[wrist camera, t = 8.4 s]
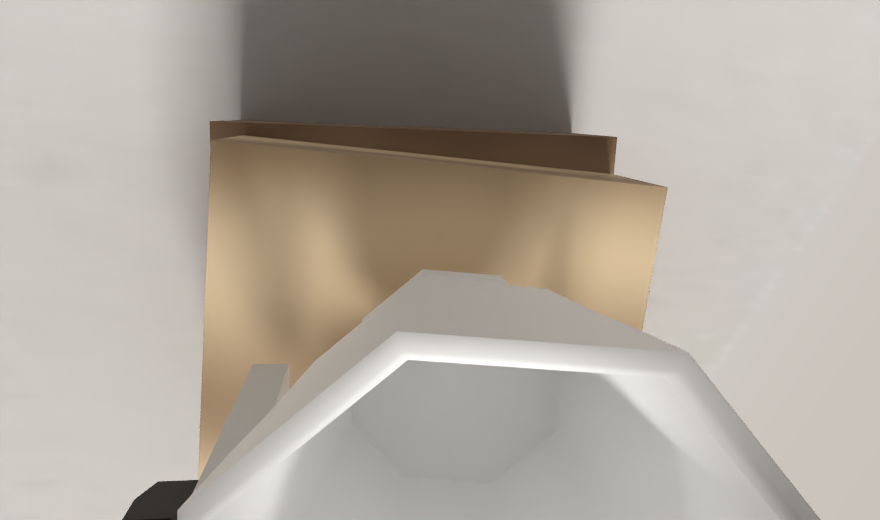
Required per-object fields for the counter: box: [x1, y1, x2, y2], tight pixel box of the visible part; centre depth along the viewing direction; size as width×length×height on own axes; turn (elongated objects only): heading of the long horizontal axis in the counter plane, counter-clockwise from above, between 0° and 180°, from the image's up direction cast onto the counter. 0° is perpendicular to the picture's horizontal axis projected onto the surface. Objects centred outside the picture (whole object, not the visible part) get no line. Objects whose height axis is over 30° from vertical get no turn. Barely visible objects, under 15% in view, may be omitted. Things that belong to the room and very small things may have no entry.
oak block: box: [198, 135, 668, 480], centre depth 19 cm, size 11×11×4 cm
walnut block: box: [210, 120, 617, 175], centre depth 23 cm, size 12×12×5 cm
